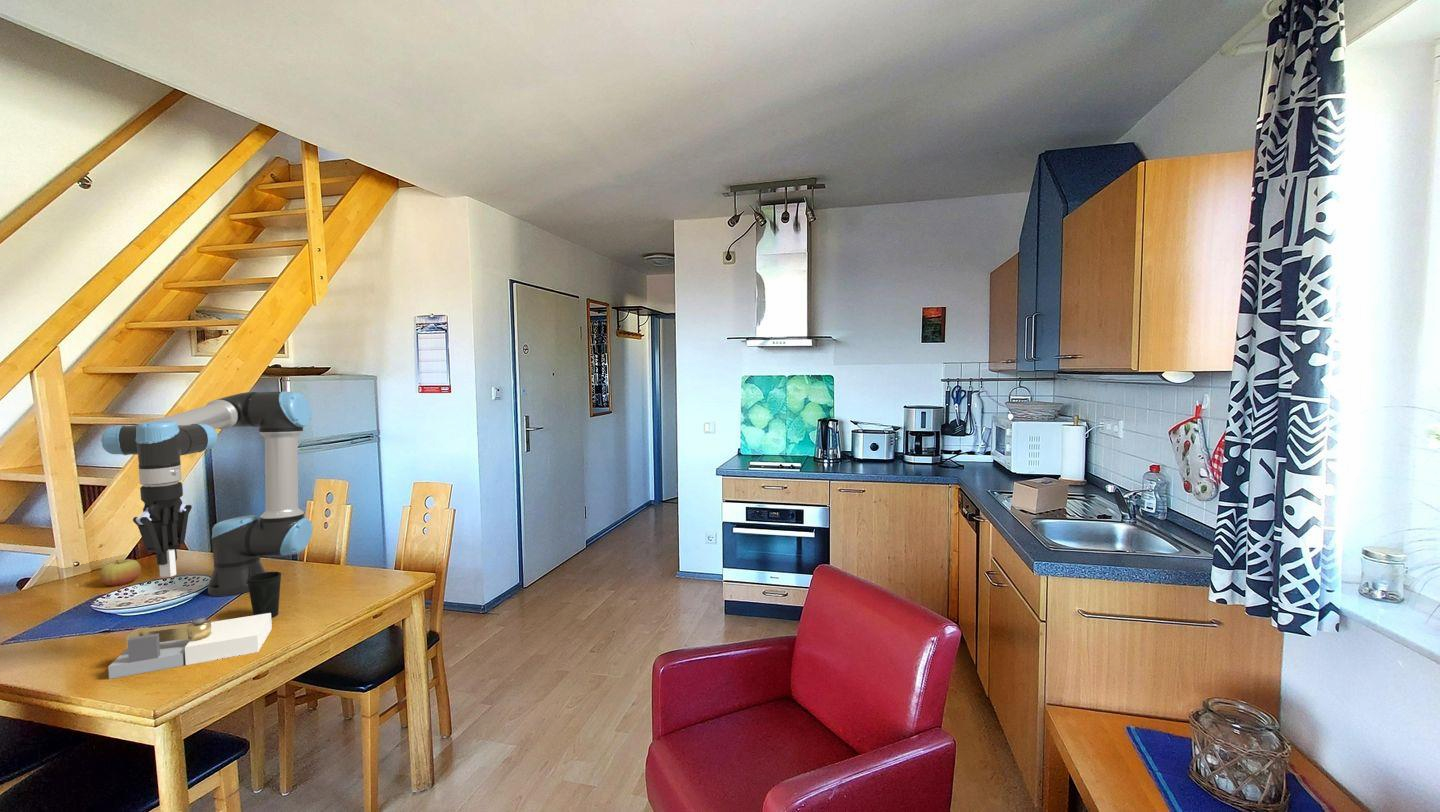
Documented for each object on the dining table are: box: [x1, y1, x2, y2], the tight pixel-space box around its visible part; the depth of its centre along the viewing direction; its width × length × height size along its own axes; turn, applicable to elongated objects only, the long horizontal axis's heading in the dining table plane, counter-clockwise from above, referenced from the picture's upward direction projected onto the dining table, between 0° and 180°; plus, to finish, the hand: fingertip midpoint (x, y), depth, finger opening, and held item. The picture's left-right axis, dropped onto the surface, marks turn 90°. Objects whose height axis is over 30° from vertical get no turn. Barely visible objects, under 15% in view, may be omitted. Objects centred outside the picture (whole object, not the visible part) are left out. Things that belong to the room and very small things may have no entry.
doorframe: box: [107, 613, 273, 680], centre depth 145 cm, size 15×28×9 cm, turn 118°
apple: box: [98, 558, 142, 587], centre depth 191 cm, size 10×10×8 cm
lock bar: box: [125, 619, 212, 649], centre depth 141 cm, size 4×15×3 cm, turn 110°
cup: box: [247, 571, 282, 619], centre depth 166 cm, size 8×8×12 cm
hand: (168, 575), depth 143 cm, fingers closed
